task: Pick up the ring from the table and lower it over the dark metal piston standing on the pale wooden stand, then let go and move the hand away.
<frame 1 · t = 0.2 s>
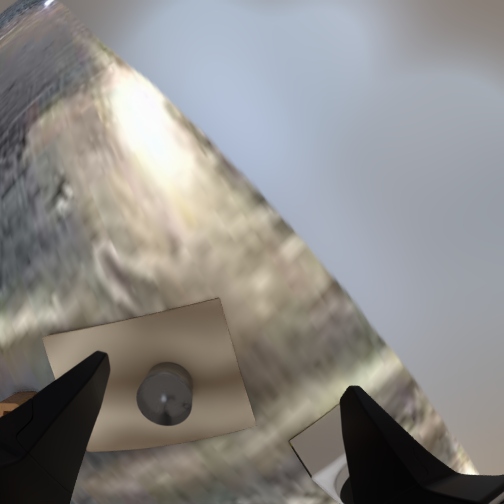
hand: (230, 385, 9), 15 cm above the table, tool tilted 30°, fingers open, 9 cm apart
piston stand: (145, 383, 22), on the table
ring: (38, 421, 19), on the table
piston: (169, 384, 21), resting on piston stand
medicine bottle: (330, 438, 24), on the table
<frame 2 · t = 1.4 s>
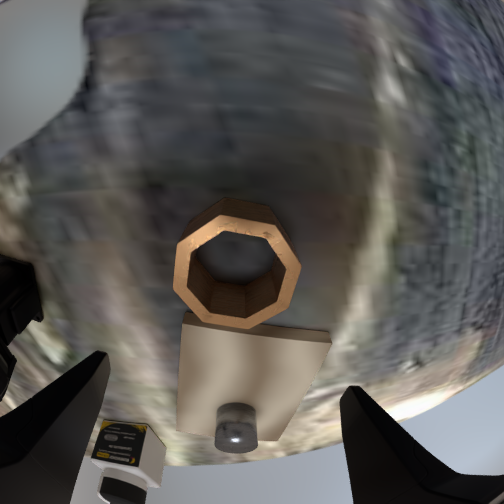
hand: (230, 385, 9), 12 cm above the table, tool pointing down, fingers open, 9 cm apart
piston stand: (240, 388, 26), on the table
ring: (236, 250, 20), on the table
piston: (236, 413, 25), resting on piston stand
medicine bottle: (135, 433, 31), on the table
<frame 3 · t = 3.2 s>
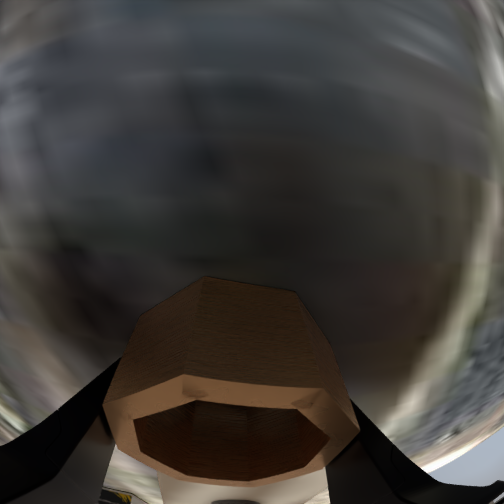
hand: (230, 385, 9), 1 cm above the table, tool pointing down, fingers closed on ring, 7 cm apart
piston stand: (240, 482, 16), on the table
ring: (231, 361, 10), on the table, touching gripper
medicine bottle: (120, 495, 21), on the table
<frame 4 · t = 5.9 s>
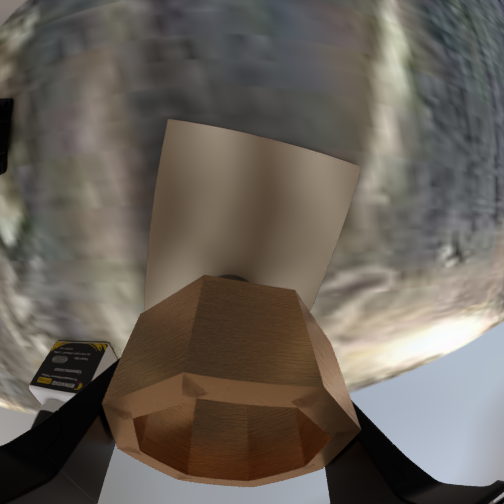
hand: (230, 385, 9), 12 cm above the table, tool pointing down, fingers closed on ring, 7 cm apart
piston stand: (236, 259, 20), on the table
ring: (231, 360, 10), point 10 cm above the table, touching gripper
medicine bottle: (95, 364, 25), on the table
when the fingers open (4 cm above the table, at t = 8.8 s): ring drops 1 cm, resting on piston stand.
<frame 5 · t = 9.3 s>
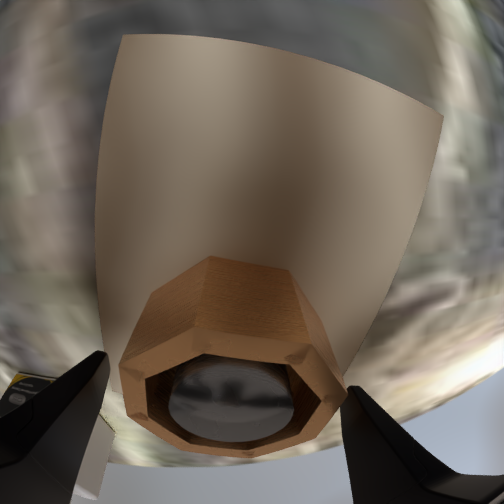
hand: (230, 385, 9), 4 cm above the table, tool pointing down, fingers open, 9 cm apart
piston stand: (244, 269, 12), on the table
ring: (232, 336, 12), point 1 cm above the table, touching piston stand
piston: (232, 337, 12), resting on piston stand
medicine bottle: (65, 402, 17), on the table
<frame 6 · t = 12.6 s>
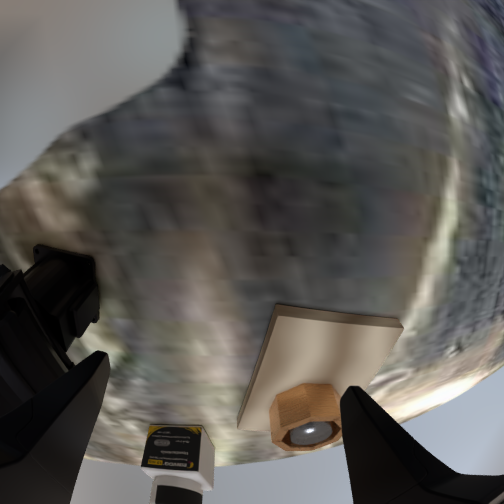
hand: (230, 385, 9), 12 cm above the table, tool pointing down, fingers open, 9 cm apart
piston stand: (311, 379, 26), on the table
ring: (305, 404, 26), point 1 cm above the table, touching piston stand
piston: (305, 404, 26), resting on piston stand
medicine bottle: (183, 436, 31), on the table
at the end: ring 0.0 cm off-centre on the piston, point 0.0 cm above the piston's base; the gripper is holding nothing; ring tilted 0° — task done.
